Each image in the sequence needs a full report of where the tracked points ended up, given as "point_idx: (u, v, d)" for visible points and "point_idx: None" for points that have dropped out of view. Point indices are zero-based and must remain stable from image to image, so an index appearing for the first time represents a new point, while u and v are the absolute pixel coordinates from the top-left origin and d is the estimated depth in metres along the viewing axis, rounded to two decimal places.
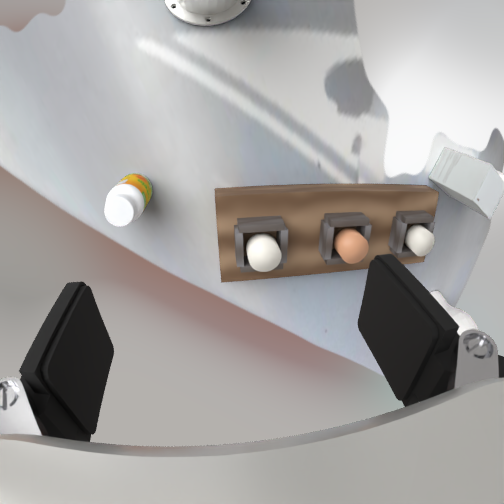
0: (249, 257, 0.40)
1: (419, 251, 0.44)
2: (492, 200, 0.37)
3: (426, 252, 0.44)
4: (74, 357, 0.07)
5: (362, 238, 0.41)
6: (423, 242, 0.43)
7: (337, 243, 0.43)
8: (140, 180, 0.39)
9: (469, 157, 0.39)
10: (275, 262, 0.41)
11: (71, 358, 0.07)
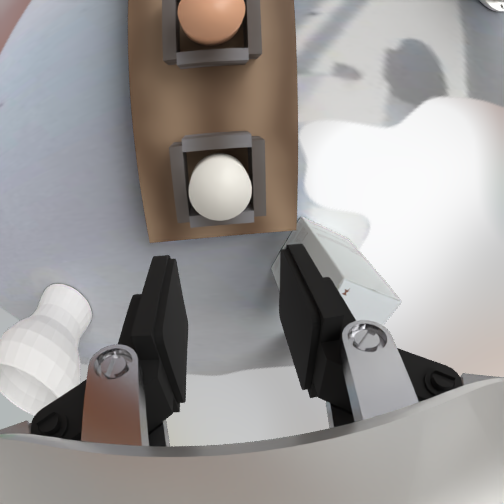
0: None
1: (201, 182, 0.20)
2: None
3: (200, 205, 0.21)
4: (173, 324, 0.08)
5: (239, 19, 0.15)
6: (224, 187, 0.21)
7: None
8: None
9: (375, 269, 0.29)
10: None
11: (172, 324, 0.08)
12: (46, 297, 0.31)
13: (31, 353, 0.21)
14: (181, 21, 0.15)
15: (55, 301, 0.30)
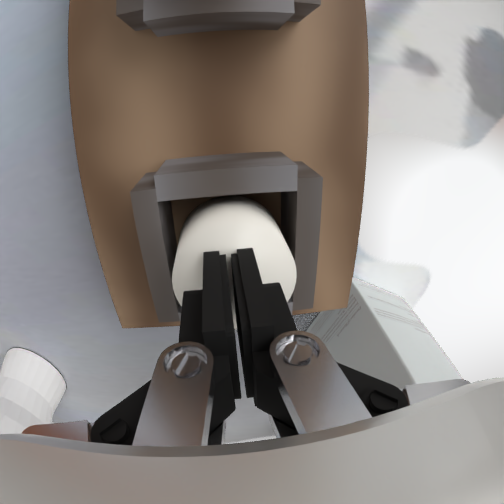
0: None
1: (197, 267, 0.10)
2: None
3: None
4: None
5: None
6: None
7: None
8: None
9: (444, 353, 0.18)
10: None
11: None
12: (6, 367, 0.20)
13: None
14: None
15: (16, 374, 0.20)
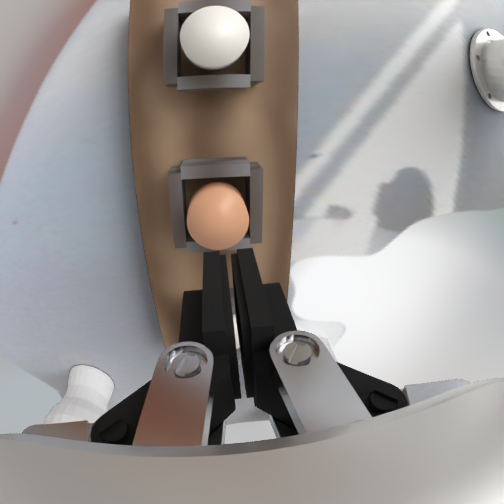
0: (218, 7, 0.14)
1: None
2: None
3: None
4: None
5: (243, 232, 0.22)
6: None
7: (221, 185, 0.22)
8: None
9: None
10: (200, 54, 0.16)
11: None
12: (76, 378, 0.37)
13: None
14: (191, 233, 0.21)
15: (85, 382, 0.36)
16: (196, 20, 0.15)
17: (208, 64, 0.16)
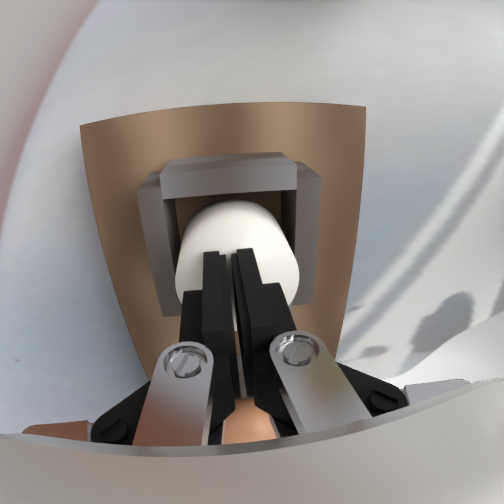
0: (240, 230, 0.10)
1: None
2: None
3: None
4: None
5: None
6: None
7: (252, 409, 0.17)
8: None
9: None
10: None
11: None
12: None
13: None
14: None
15: None
16: (201, 260, 0.10)
17: None
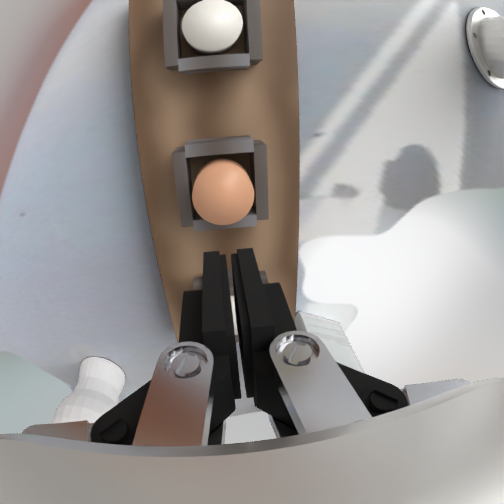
0: (213, 0, 0.16)
1: None
2: None
3: None
4: None
5: (249, 206, 0.22)
6: None
7: (225, 161, 0.22)
8: None
9: (356, 357, 0.35)
10: (200, 41, 0.18)
11: None
12: (87, 370, 0.38)
13: None
14: (196, 209, 0.21)
15: (96, 374, 0.37)
16: (195, 12, 0.16)
17: (208, 49, 0.18)
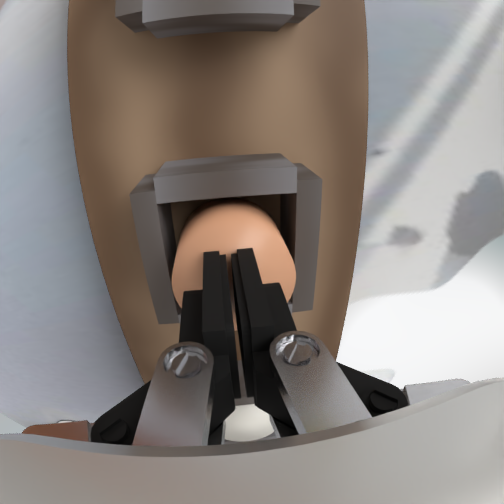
0: None
1: (227, 424, 0.18)
2: None
3: (226, 435, 0.18)
4: None
5: None
6: (251, 425, 0.18)
7: (238, 207, 0.11)
8: None
9: None
10: None
11: None
12: None
13: None
14: None
15: None
16: None
17: None
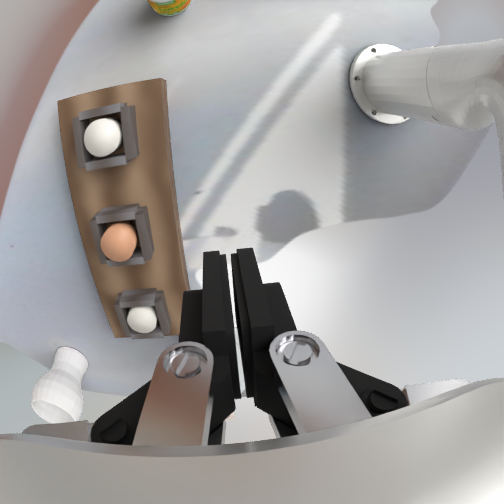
0: (100, 120, 0.28)
1: (132, 318, 0.41)
2: None
3: (133, 327, 0.42)
4: None
5: (132, 251, 0.35)
6: (143, 320, 0.41)
7: (119, 223, 0.35)
8: (185, 1, 0.26)
9: None
10: (95, 151, 0.30)
11: None
12: (59, 356, 0.50)
13: (56, 394, 0.40)
14: (104, 252, 0.35)
15: (65, 359, 0.49)
16: (90, 130, 0.29)
17: (100, 156, 0.30)
